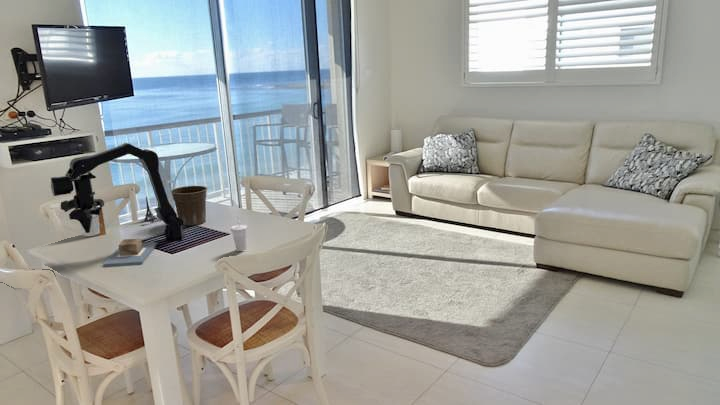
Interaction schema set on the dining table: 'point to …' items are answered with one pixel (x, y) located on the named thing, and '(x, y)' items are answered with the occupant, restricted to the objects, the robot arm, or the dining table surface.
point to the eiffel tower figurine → (150, 216)
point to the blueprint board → (131, 256)
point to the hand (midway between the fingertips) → (91, 230)
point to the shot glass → (92, 226)
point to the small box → (101, 224)
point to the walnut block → (130, 247)
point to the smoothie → (239, 236)
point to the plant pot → (190, 204)
